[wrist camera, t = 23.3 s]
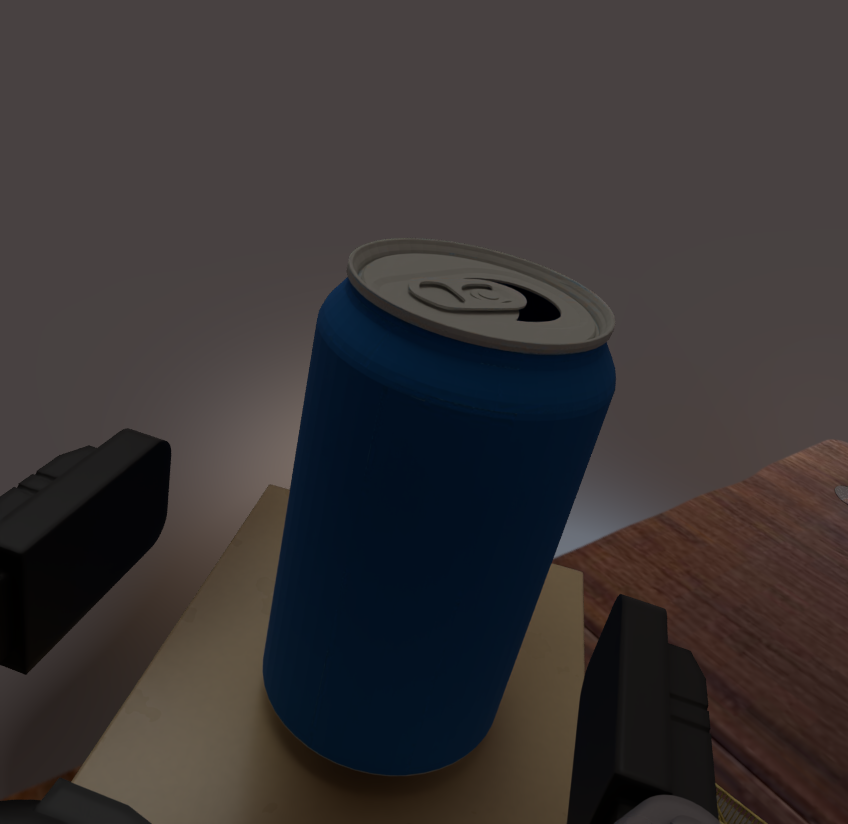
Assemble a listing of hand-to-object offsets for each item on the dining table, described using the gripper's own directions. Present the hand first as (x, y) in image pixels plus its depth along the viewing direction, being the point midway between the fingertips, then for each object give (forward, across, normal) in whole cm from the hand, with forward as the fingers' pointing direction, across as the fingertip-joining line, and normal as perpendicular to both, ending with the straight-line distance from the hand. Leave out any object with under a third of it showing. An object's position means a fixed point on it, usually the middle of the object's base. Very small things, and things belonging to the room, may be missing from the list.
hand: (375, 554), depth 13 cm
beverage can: (+5, 0, +9) cm, 10 cm away
